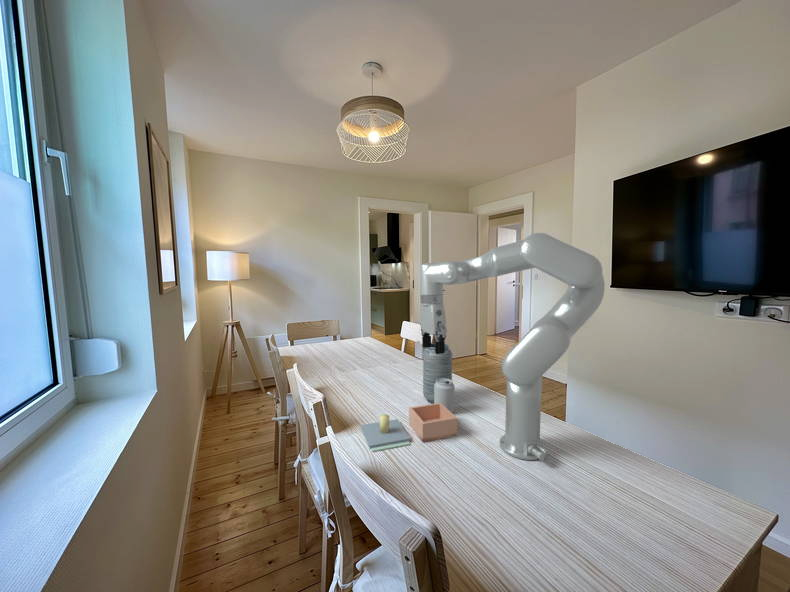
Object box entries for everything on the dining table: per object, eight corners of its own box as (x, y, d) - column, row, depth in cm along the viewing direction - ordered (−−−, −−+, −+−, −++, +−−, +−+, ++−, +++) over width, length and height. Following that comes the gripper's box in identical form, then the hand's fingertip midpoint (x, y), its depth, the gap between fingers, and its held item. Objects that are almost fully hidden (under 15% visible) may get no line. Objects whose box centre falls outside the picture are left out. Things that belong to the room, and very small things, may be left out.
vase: (450, 395, 131) (451, 342, 129) (452, 407, 120) (453, 349, 118) (423, 394, 132) (423, 341, 131) (422, 405, 121) (423, 348, 119)
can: (454, 417, 111) (454, 384, 111) (433, 415, 113) (433, 383, 112) (454, 408, 119) (454, 377, 118) (434, 406, 120) (435, 376, 119)
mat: (410, 444, 94) (410, 443, 94) (372, 452, 90) (372, 450, 90) (394, 420, 109) (394, 419, 109) (361, 426, 105) (361, 424, 105)
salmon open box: (457, 436, 99) (457, 418, 98) (422, 442, 95) (422, 423, 94) (440, 419, 110) (440, 402, 109) (409, 424, 106) (409, 407, 106)
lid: (410, 440, 95) (410, 422, 95) (369, 448, 91) (369, 429, 91) (397, 421, 108) (397, 405, 107) (360, 427, 104) (360, 410, 103)
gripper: (455, 300, 96) (456, 354, 97) (430, 298, 112) (431, 344, 113) (433, 302, 93) (435, 357, 95) (411, 299, 110) (412, 346, 111)
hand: (433, 350), depth 104 cm, fingers open, 9 cm apart
